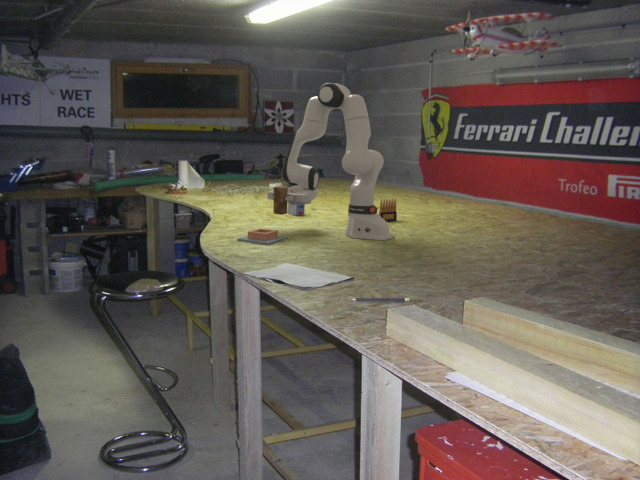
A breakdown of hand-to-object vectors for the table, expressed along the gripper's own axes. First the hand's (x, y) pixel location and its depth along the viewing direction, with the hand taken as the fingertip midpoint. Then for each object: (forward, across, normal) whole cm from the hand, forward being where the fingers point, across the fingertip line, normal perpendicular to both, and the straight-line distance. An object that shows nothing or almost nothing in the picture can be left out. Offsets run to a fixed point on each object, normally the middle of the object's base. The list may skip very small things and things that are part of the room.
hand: (279, 198), depth 281 cm
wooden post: (-1, 0, +7) cm, 7 cm away
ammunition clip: (-68, +25, +17) cm, 74 cm away
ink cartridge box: (-58, -25, +17) cm, 65 cm away
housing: (+13, 0, +17) cm, 21 cm away
